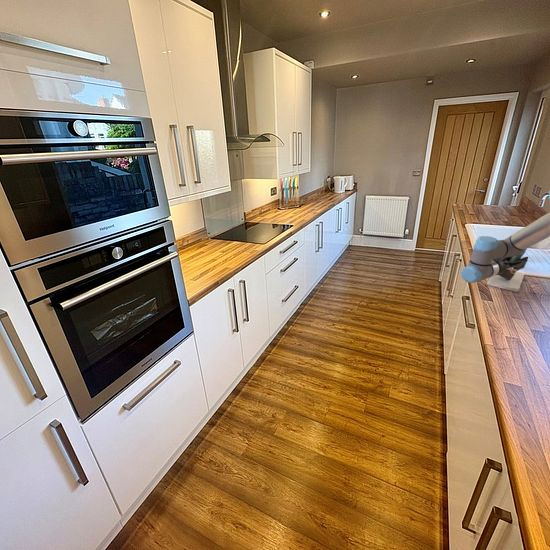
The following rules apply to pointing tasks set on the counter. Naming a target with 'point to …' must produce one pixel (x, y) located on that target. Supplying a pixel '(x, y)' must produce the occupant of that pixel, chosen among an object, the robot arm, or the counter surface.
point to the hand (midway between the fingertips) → (521, 257)
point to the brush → (509, 273)
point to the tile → (507, 282)
